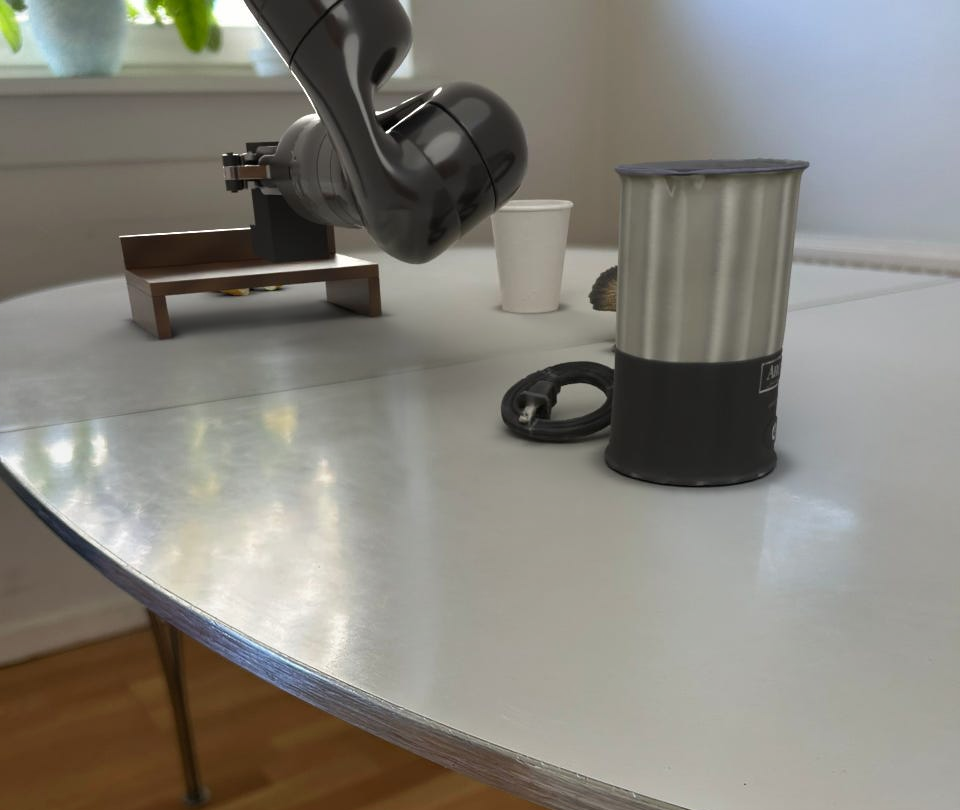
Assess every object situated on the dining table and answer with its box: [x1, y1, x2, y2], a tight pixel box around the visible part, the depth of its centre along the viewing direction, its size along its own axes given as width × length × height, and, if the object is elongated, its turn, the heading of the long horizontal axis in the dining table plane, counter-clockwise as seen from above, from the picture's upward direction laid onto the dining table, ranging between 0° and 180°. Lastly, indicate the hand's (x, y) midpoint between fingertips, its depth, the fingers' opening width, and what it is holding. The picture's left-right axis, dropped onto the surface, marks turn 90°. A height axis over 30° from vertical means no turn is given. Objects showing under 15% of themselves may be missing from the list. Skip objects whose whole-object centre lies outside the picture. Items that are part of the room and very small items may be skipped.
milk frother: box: [500, 157, 811, 487], centre depth 53 cm, size 14×16×15 cm
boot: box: [245, 140, 329, 263], centre depth 85 cm, size 9×5×9 cm, turn 27°
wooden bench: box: [118, 225, 383, 341], centre depth 99 cm, size 22×13×8 cm, turn 117°
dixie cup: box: [490, 199, 574, 314], centre depth 99 cm, size 8×8×10 cm
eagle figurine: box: [587, 264, 618, 353], centre depth 82 cm, size 8×7×9 cm
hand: (275, 168), depth 85 cm, fingers closed on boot, 4 cm apart
